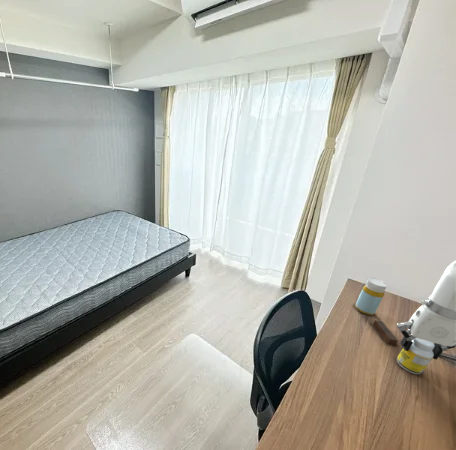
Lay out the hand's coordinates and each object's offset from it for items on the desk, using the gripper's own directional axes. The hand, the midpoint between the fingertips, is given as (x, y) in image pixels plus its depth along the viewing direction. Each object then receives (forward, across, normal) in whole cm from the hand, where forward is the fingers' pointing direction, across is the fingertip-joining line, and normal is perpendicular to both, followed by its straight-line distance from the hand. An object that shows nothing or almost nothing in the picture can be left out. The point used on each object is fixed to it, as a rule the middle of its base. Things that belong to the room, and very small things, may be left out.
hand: (418, 351), depth 80 cm
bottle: (+7, -5, +28) cm, 29 cm away
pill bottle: (+7, 0, 0) cm, 7 cm away
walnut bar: (+7, -2, +14) cm, 16 cm away
